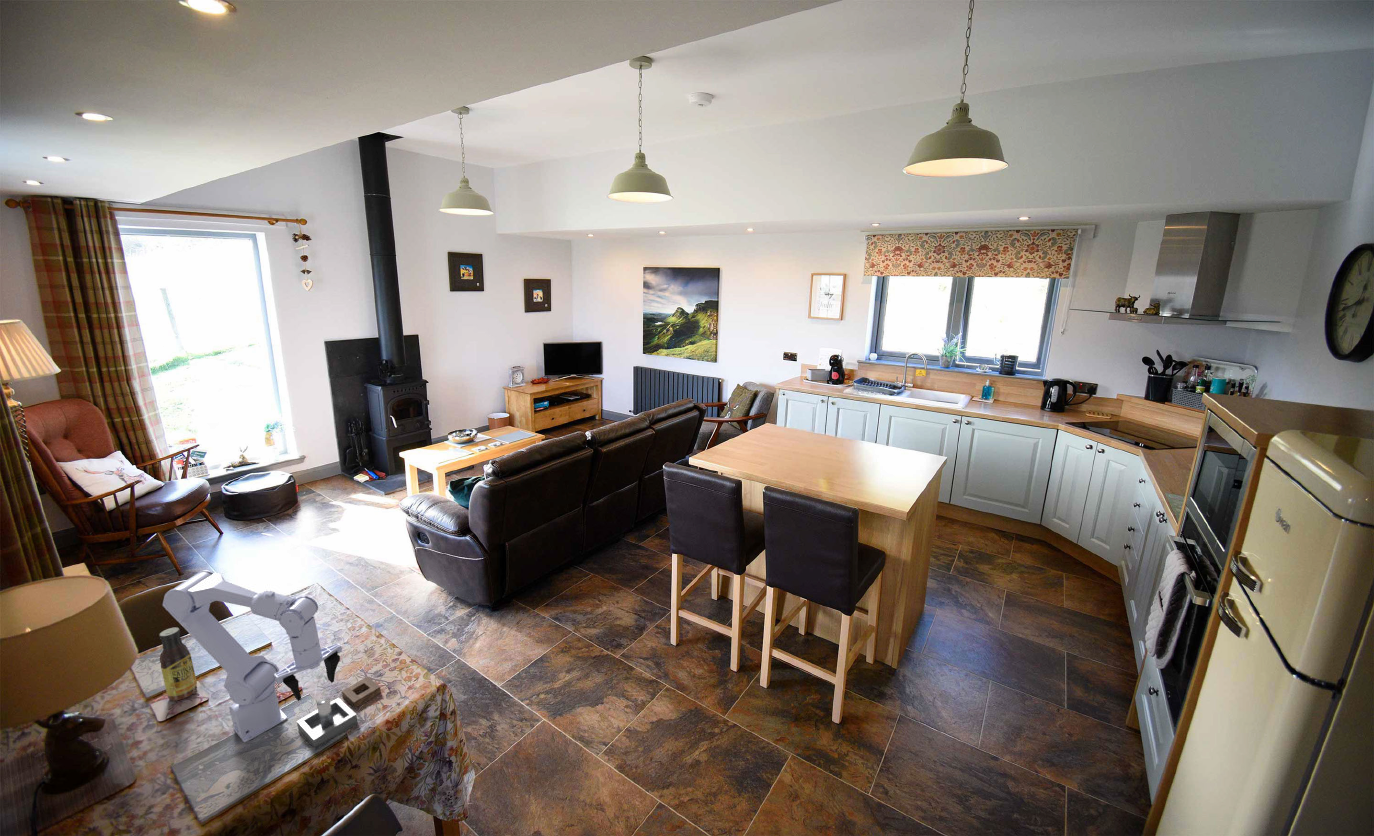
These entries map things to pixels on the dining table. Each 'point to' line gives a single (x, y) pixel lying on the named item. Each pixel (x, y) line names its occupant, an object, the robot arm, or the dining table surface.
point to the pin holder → (352, 691)
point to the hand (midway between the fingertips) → (315, 689)
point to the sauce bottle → (176, 666)
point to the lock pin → (325, 713)
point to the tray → (320, 736)
